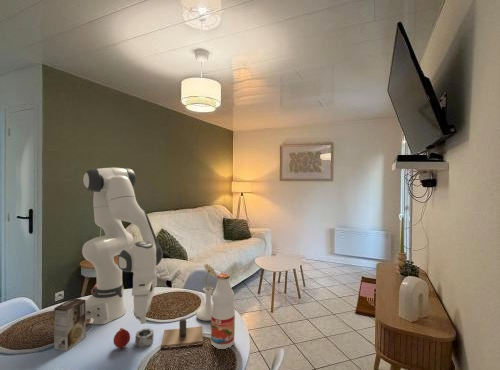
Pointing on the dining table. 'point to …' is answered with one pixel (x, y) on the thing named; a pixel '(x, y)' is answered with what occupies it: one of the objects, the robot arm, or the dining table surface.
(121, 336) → the onion
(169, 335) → the post board
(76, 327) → the coffee box
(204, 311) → the flower in vase
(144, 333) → the steel collar
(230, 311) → the fruit juice
